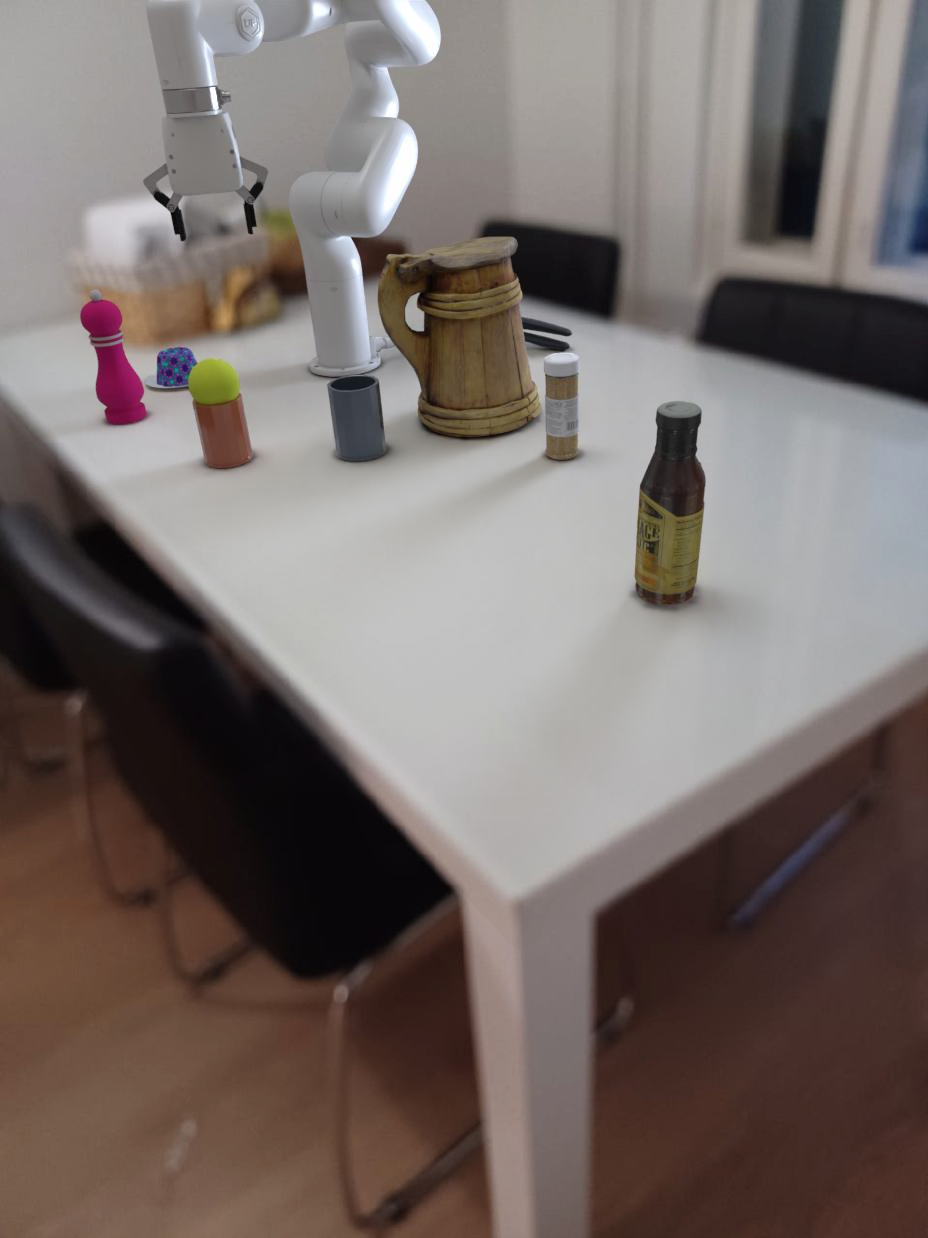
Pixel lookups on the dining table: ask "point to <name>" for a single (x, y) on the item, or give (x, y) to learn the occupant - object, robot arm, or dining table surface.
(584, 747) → the dining table surface
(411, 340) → the tankard
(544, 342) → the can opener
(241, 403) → the terracotta cup
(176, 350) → the pudding
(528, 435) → the dining table surface
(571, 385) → the sprinkles bottle
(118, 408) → the pepper mill
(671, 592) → the sauce bottle
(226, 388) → the ball
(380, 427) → the grey cup
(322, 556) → the dining table surface
